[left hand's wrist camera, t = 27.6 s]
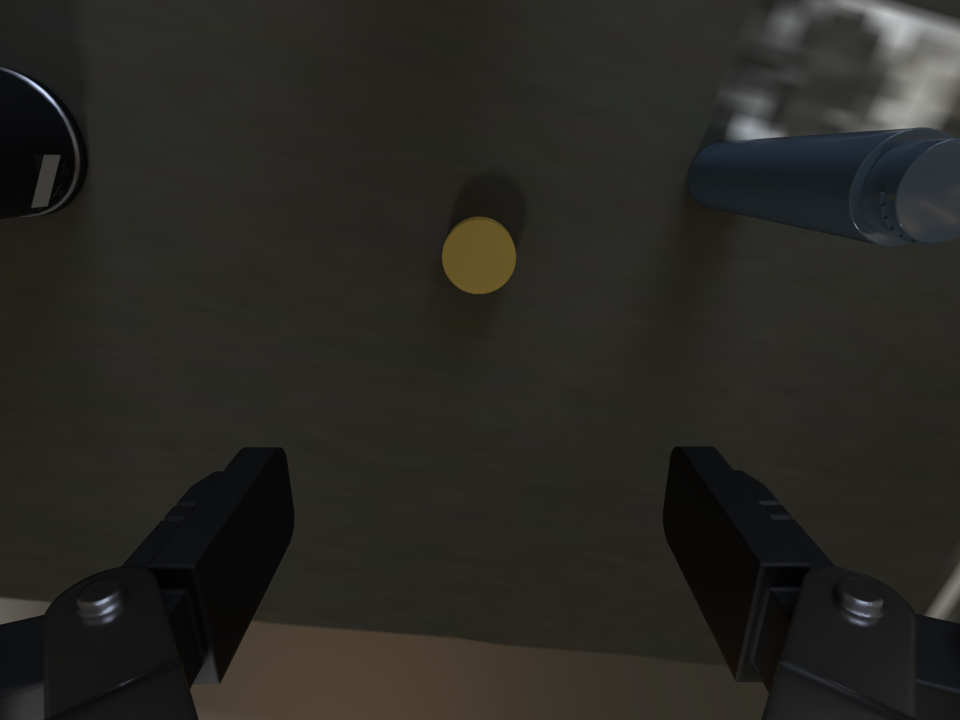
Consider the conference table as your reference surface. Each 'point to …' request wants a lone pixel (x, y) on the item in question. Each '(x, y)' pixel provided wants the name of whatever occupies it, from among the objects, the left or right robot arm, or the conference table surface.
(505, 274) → the lid
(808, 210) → the dark blue cylinder
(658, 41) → the conference table surface
